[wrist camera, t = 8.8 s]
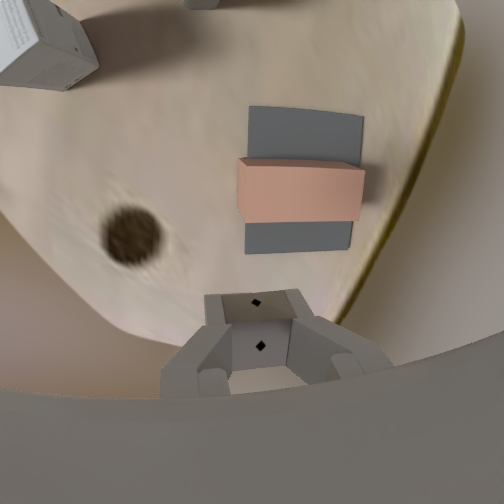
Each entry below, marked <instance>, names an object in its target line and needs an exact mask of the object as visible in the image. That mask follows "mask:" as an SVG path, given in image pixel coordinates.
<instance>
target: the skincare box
mask: <svg viewBox="0 0 504 504" xmlns="http://www.w3.org/2000/svg"><path fill="white" fill-rule="evenodd" d="M98 68H99V63H98V60H97V58H96V55H95V53H94V50H93V48H92V46H91V44H90V42H89V39H88V37H87V35H86V33H85V31H84V29H83V27H82V26H81V24H80V22H79V21H78V20H77V19H75V18H74V17H73V16H71V15H70V14H68V13H67V12H65V11H64V10H62V9H61V8H60V7H58V6H57V5H55V4H54V3H52V2H51V1H49V0H0V86H14V87H27V88H37V89H46V90H55V91H62V92H63V91H65V90H67V89H68V88H70V87H71V86H72V85H74V84H75V83H77V82H78V81H80V80H81V79H83V78H84V77H86V76H87V75H89V74H90V73H92V72H93V71H95V70H96V69H98Z"/></svg>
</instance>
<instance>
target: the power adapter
mask: <svg viewBox="0 0 504 504" xmlns="http://www.w3.org/2000/svg"><path fill="white" fill-rule="evenodd" d="M219 2H220V0H184V5H185V7H186V8H188V9H192V10H212V9H215V8H217V7H218V5H219Z"/></svg>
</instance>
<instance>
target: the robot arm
mask: <svg viewBox="0 0 504 504" xmlns="http://www.w3.org/2000/svg"><path fill="white" fill-rule="evenodd" d="M204 306H205V324H206V325H205V326H201V328H200V329H199V330H198V331H197V332H196V333H195V334H194V335H193V336H192V337H191V338H190V339H189V340H188V341H187V343H186V344H185V345H184V346H183V347H182V348H181V349H180V350H179V351H178V352H177V353H176V354H175V355H174V356H173V358H172V359H171V360H170V361H169V362H168V363H167V364H166V365H165V366H164V367H163V368H162V369H161V377H160V398H159V399H122V398H121V399H120V398H118V399H117V398H94V397H78V396H65V395H55V394H45V393H37V392H29V391H21V390H14V389H8V388H2V387H0V504H504V331H502V332H500V333H497V334H494V335H492V336H489V337H487V338H484V339H481V340H479V341H476V342H473V343H470V344H467V345H465V346H462V347H459V348H456V349H453V350H450V351H447V352H444V353H440V354H438V355H434V356H431V357H427V358H424V359H421V360H417V361H414V362H410V363H406V364H403V365H399V366H394V365H393V364H392V362H391V361H390V359H389V358H388V357H387V355H386V354H385V352H384V351H383V350H382V348H381V347H380V346H379V345H378V344H376V343H374V342H372V341H369V340H367V339H365V338H363V337H361V336H359V335H357V334H355V333H353V332H351V331H349V330H347V329H345V328H343V327H341V326H339V325H337V324H335V323H333V322H331V321H329V320H327V319H325V318H323V317H321V316H314V314H313V312H312V311H311V309H310V307H309V306H308V304H307V302H306V301H305V299H304V297H303V296H302V294H301V292H300V291H299V289H297V288H296V289H288V290H279V291H269V292H259V293H232V294H221V295H220V294H210V295H204ZM276 366H286V367H287V368H289V369H290V370H291V371H292V372H293V373H295V374H296V375H297V376H299V377H300V378H301V379H302V380H303V381H305V382H306V383H307V384H308V385H305V386H299V387H292V388H285V389H278V390H270V391H262V392H255V393H244V394H235V395H230V390H229V385H228V380H229V378H230V376H231V374H232V371H238V370H247V369H255V368H265V367H276Z"/></svg>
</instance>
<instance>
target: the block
mask: <svg viewBox="0 0 504 504" xmlns="http://www.w3.org/2000/svg"><path fill="white" fill-rule="evenodd" d="M364 178H365V170H363V169H360V168H357V167H355V166H352V165H350V164H347V163H344V162H336V161H319V160H297V159H257V158H239V167H238V209H239V211H240V213H241V215H242V217H243V219H244V221H245V223H266V222H317V221H359V217H360V210H361V203H362V195H363V186H364Z"/></svg>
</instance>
